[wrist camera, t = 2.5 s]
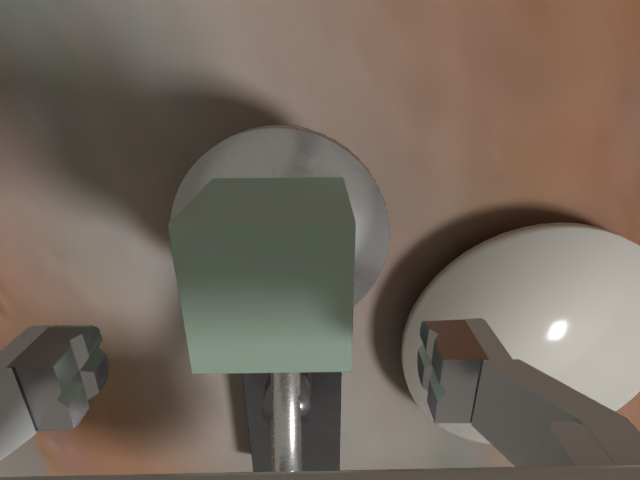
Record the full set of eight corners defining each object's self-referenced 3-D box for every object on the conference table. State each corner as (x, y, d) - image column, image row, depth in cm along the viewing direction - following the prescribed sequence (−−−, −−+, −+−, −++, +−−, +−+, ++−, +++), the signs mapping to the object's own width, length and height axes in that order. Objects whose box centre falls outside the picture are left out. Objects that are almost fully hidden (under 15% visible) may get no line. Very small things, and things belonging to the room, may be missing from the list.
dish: (408, 217, 18) (416, 229, 17) (692, 214, 18) (722, 226, 17) (389, 424, 23) (394, 447, 22) (609, 421, 24) (627, 443, 22)
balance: (184, 116, 16) (15, 186, 7) (381, 114, 16) (467, 182, 7) (234, 478, 25) (189, 715, 16) (361, 476, 25) (388, 711, 16)
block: (212, 178, 14) (167, 224, 10) (343, 177, 14) (355, 223, 10) (225, 292, 15) (191, 373, 11) (341, 291, 15) (351, 371, 11)
